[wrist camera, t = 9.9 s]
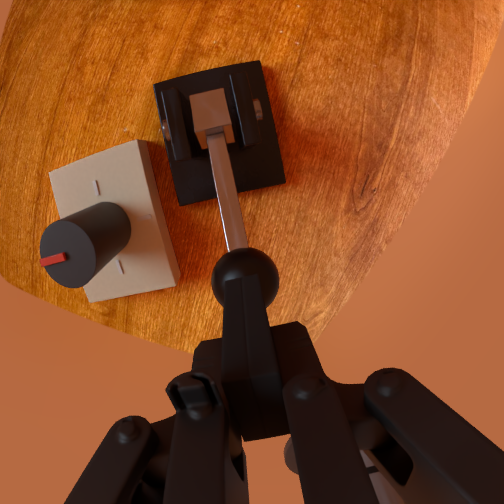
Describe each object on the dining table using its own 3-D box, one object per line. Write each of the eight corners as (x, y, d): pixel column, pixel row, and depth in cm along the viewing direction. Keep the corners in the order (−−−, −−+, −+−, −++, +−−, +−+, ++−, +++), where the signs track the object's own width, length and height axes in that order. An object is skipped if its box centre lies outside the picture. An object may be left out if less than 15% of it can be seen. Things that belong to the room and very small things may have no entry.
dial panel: (181, 274, 31) (176, 286, 28) (99, 291, 31) (88, 303, 28) (146, 140, 27) (136, 138, 24) (63, 170, 27) (47, 172, 24)
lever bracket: (283, 181, 29) (316, 199, 18) (182, 204, 29) (151, 235, 18) (258, 64, 25) (275, 12, 14) (156, 87, 25) (112, 50, 14)
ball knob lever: (283, 305, 18) (288, 309, 14) (223, 317, 18) (214, 324, 14) (238, 110, 19) (234, 79, 16) (187, 121, 19) (175, 92, 16)
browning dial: (123, 195, 25) (81, 213, 17) (137, 247, 27) (104, 284, 19) (78, 209, 25) (29, 231, 17) (93, 258, 27) (51, 294, 19)
